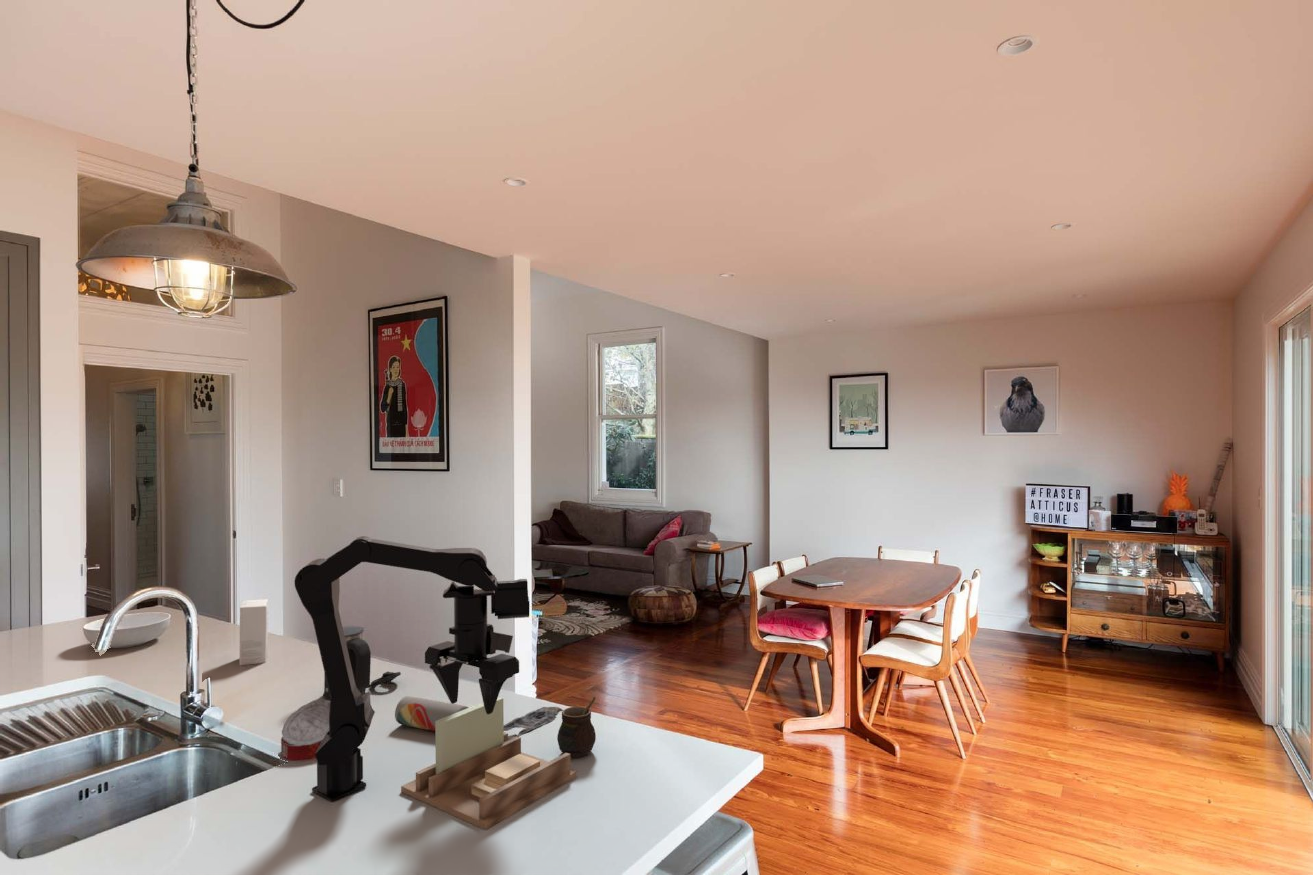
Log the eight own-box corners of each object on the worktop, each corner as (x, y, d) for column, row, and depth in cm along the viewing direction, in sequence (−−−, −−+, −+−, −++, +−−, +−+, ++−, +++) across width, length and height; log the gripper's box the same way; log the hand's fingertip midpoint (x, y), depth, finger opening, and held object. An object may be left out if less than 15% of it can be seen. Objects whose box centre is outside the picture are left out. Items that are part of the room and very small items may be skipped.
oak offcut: (505, 787, 121) (505, 778, 121) (485, 779, 124) (485, 770, 124) (540, 769, 127) (540, 760, 127) (519, 762, 130) (519, 753, 130)
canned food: (339, 768, 144) (357, 727, 142) (289, 783, 136) (307, 739, 134) (312, 729, 150) (330, 689, 148) (263, 741, 142) (281, 699, 140)
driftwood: (549, 708, 164) (549, 699, 164) (572, 715, 160) (572, 705, 160) (476, 741, 147) (476, 731, 147) (499, 750, 143) (499, 739, 143)
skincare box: (241, 657, 201) (241, 600, 200) (269, 654, 203) (268, 598, 203) (239, 666, 193) (238, 607, 193) (267, 662, 196) (266, 604, 196)
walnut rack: (485, 829, 113) (485, 803, 113) (401, 791, 125) (401, 768, 125) (576, 776, 130) (576, 754, 130) (494, 747, 142) (494, 727, 142)
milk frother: (313, 697, 170) (312, 633, 170) (361, 676, 185) (361, 617, 184) (363, 705, 165) (363, 639, 165) (408, 682, 180) (408, 621, 180)
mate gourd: (549, 752, 140) (549, 699, 140) (582, 741, 145) (582, 690, 145) (570, 765, 135) (570, 710, 134) (604, 753, 139) (603, 700, 139)
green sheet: (441, 787, 124) (441, 722, 124) (435, 785, 125) (435, 720, 125) (503, 757, 135) (503, 698, 135) (497, 755, 136) (497, 696, 136)
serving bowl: (166, 630, 229) (166, 608, 229) (175, 645, 213) (175, 621, 213) (81, 642, 216) (81, 619, 216) (84, 659, 200) (84, 634, 200)
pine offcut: (496, 804, 119) (496, 794, 119) (471, 793, 122) (471, 784, 122) (544, 777, 128) (544, 768, 127) (519, 768, 131) (519, 760, 131)
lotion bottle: (391, 724, 151) (472, 740, 144) (397, 695, 153) (477, 709, 145) (409, 723, 156) (488, 738, 149) (415, 695, 158) (493, 708, 150)
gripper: (541, 618, 132) (541, 704, 132) (469, 604, 142) (470, 685, 143) (494, 632, 123) (495, 725, 123) (422, 617, 133) (423, 702, 133)
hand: (471, 708), depth 131 cm, fingers open, 9 cm apart
